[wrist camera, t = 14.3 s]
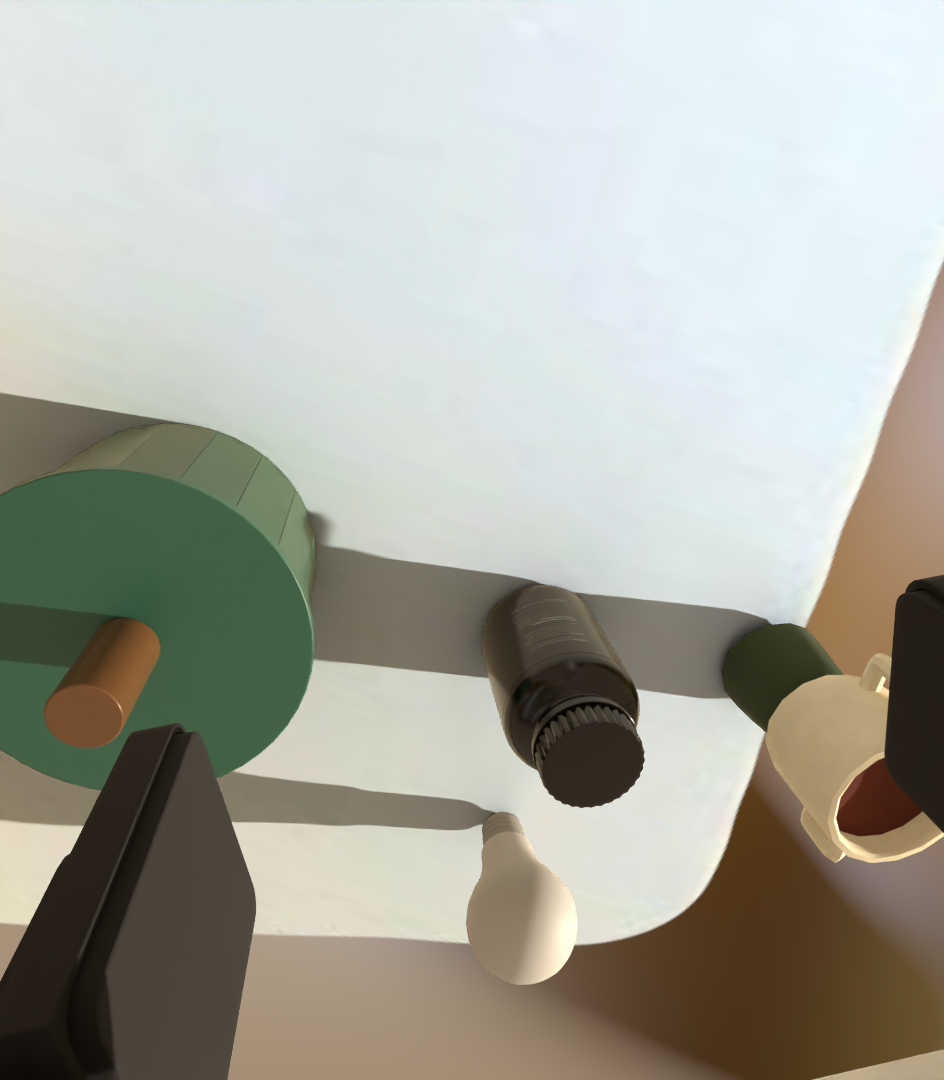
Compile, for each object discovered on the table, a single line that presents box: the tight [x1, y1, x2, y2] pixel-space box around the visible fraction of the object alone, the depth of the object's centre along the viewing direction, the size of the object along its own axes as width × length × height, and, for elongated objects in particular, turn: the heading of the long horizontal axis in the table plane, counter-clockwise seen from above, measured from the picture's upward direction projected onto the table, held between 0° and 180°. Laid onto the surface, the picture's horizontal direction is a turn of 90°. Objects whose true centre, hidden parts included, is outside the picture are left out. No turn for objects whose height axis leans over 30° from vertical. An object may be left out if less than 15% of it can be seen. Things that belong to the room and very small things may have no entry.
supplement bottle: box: [481, 585, 645, 808], centre depth 39 cm, size 7×7×12 cm
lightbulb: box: [466, 812, 578, 985], centre depth 44 cm, size 6×6×11 cm
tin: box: [55, 424, 316, 605], centre depth 35 cm, size 14×14×10 cm
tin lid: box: [0, 466, 315, 790], centre depth 29 cm, size 15×15×6 cm
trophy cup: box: [722, 623, 944, 863], centre depth 41 cm, size 11×7×13 cm, turn 168°
